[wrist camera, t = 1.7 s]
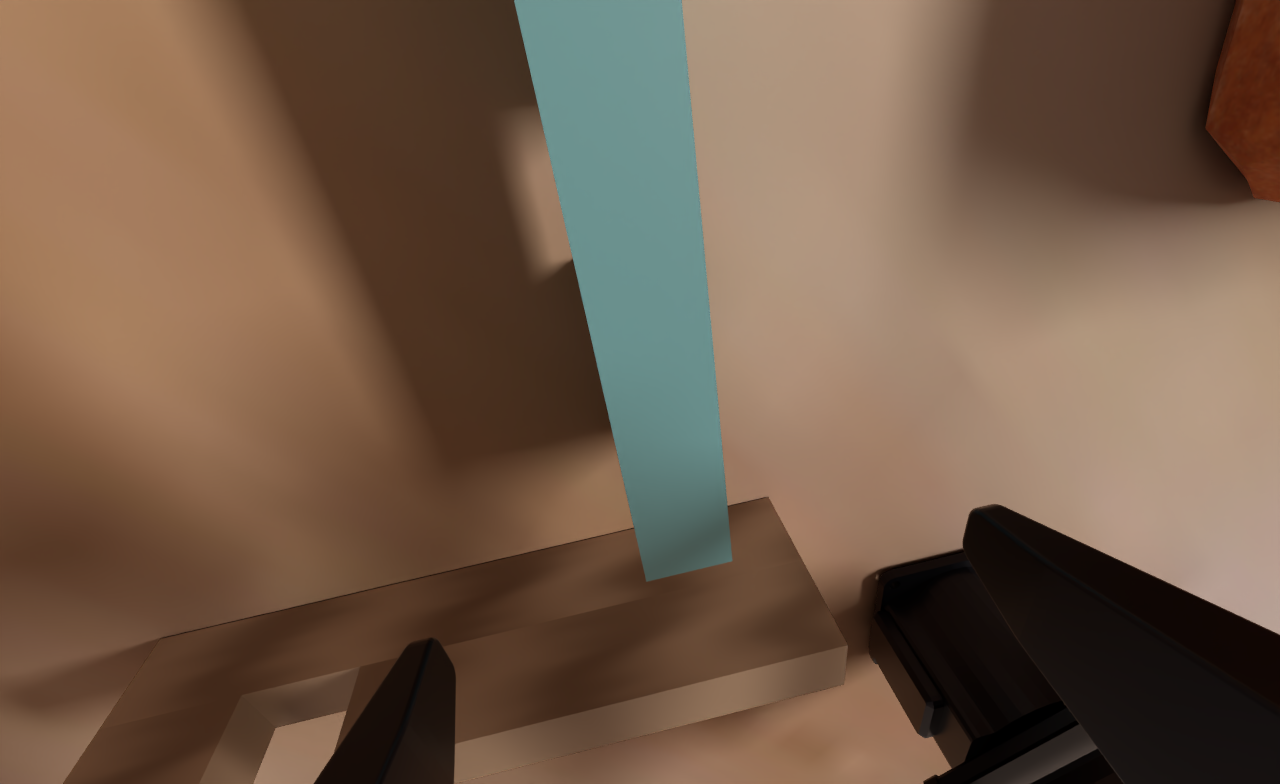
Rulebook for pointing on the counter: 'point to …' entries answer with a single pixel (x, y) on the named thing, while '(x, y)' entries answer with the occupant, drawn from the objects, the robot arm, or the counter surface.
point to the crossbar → (638, 256)
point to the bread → (1250, 96)
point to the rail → (491, 659)
